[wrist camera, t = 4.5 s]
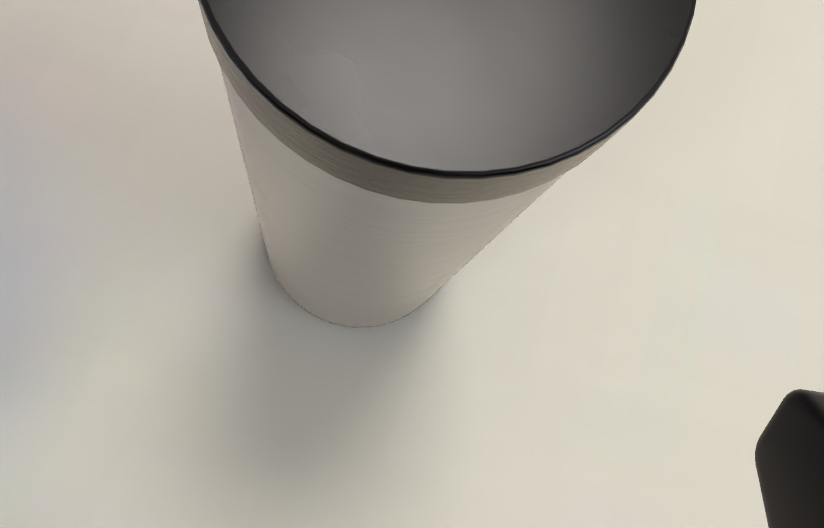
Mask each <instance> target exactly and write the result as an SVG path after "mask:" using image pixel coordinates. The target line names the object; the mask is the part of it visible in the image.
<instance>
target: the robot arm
mask: <svg viewBox="0 0 824 528" xmlns="http://www.w3.org/2000/svg"><path fill="white" fill-rule="evenodd" d="M755 462H756V468H757V473H758V478H759V482H760V487H761V492H762V497H763V502H764V507H765V512H766V517H767V521H768V526H769V528H824V393H823V392H816V391H809V390H802V389H798V390H793V391H792V392H790V393H789V394H787V395H786V397H785V398H784V399H783V401H782V402H781V404H780V406H779V407H778V409H777V410H776V412H775V414H774V415H773V417H772V418H771V420H770V422H769V423H768V425H767V426H766V428H765V430H764V431H763V433H762V434H761V436H760V438H759V440H758V442H757V445H756V451H755Z"/></svg>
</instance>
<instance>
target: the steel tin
mask: <svg viewBox="0 0 824 528" xmlns="http://www.w3.org/2000/svg"><path fill="white" fill-rule="evenodd" d="M198 1H199V5H200V9H201V13H202V16H203V20H204V24H205V27H206V31H207V35H208V38H209V41H210V43H211V45H212V48H213V50H214V52H215V55H216V57H217V59H218V62H219V64H220V67H221V71H222V75H223V79H224V83H225V87H226V91H227V95H228V99H229V103H230V107H231V111H232V115H233V119H234V123H235V127H236V131H237V135H238V139H239V143H240V147H241V151H242V155H243V159H244V163H245V167H246V171H247V174H248V178H249V182H250V186H251V190H252V194H253V198H254V202H255V206H256V210H257V214H258V218H259V222H260V226H261V230H262V234H263V238H264V242H265V246H266V250H267V254H268V258H269V262H270V265H271V267H272V269H273V272H274V274H275V276H276V278H277V279H278V281H279V283H280V284H281V286H282V287H283V289H284V290H285V291H286V292H287V294H288V295H289V296H290V297H291V298H292V299H293V300H294V301H295V302H296V303H297V304H298V305H300V306H301V307H302V308H304V309H305V310H306V311H308V312H310V313H311V314H313V315H315V316H317V317H318V318H321V319H323V320H326V321H328V322H331V323H335V324H339V325H343V326H351V327H371V326H378V325H383V324H386V323H390V322H393V321H395V320H398V319H400V318H402V317H405V316H406V315H408V314H410V313H411V312H413V311H414V310H416V309H417V308H418V307H419V306H421V305H422V304H423V303H424V302H426V301H427V300H428V299H429V298H430V297H431V296H432V295H433V294H434V293H435V292H436V291H437V290H439V289H440V288H441V287H442V286H443V285H444V284H445V283H446V282H447V281H448V280H449V279H450V278H452V277H453V276H454V275H455V274H456V273H457V272H458V271H459V270H460V269H461V268H462V267H463V266H465V265H466V264H467V263H468V262H469V261H470V260H471V259H472V258H473V257H474V256H475V255H476V254H478V253H479V252H480V251H481V250H482V249H483V248H484V247H485V246H486V245H487V244H488V243H490V242H491V241H492V240H493V239H494V238H495V237H496V236H497V235H498V234H499V233H500V232H501V231H503V230H504V229H505V228H506V227H507V226H508V225H509V224H510V223H511V222H512V221H513V220H514V219H516V218H517V217H518V216H519V215H520V214H521V213H522V212H523V211H524V210H525V209H526V208H527V207H529V206H530V205H531V204H532V203H533V202H534V201H535V200H536V199H537V198H538V197H539V196H540V195H542V194H543V193H544V192H545V191H546V190H547V189H548V188H549V187H550V186H551V185H552V184H553V183H555V182H556V181H557V180H558V179H559V178H560V177H561V176H562V175H563V174H564V173H565V172H567V171H569V170H571V169H572V168H574V167H576V166H577V165H579V164H580V163H581V162H582V161H584V160H585V159H586V158H587V157H589V156H590V155H591V154H593V153H594V152H595V151H596V150H598V149H599V148H600V147H601V146H602V145H603V144H605V143H606V142H607V141H608V140H609V139H610V138H611V137H612V136H613V135H615V134H616V133H617V132H618V131H619V130H620V129H621V128H622V127H623V126H625V125H626V124H627V123H628V122H629V121H630V120H631V119H632V118H633V117H634V116H635V115H636V114H637V113H638V112H639V111H640V110H641V109H642V108H643V107H644V106H645V105H646V103H647V102H648V101H649V100H650V99H651V98H652V97H653V96H654V95H655V93H656V92H657V90H658V89H659V87H660V86H661V85H662V83H663V82H664V80H665V79H666V77H667V76H668V75H669V73H670V72H671V70H672V68H673V66H674V64H675V62H676V60H677V58H678V56H679V54H680V52H681V50H682V48H683V46H684V44H685V41H686V37H687V34H688V31H689V28H690V25H691V22H692V19H693V16H694V10H695V5H696V0H198Z"/></svg>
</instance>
